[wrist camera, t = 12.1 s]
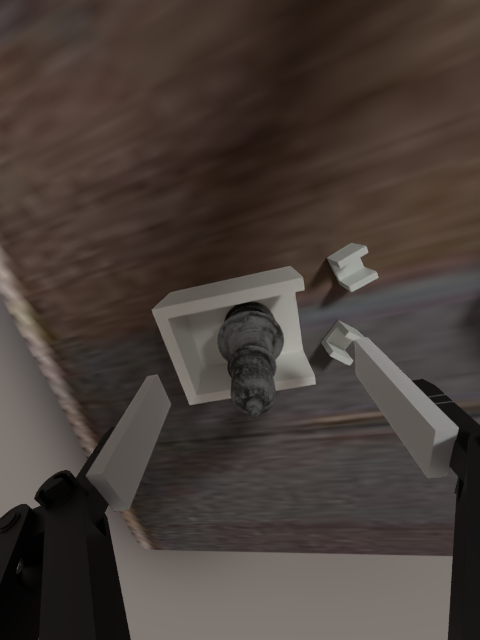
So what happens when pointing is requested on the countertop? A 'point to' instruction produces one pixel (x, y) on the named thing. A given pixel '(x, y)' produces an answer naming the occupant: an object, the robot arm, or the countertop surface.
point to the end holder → (208, 316)
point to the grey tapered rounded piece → (251, 355)
